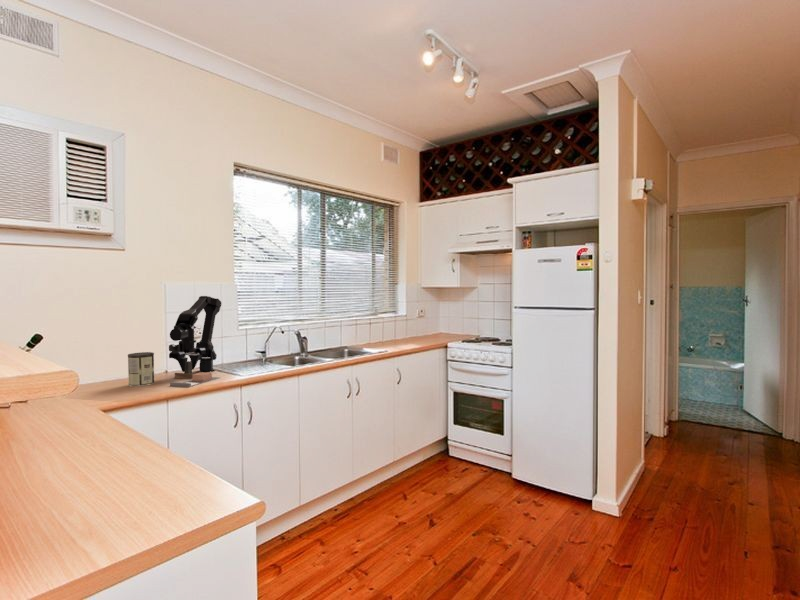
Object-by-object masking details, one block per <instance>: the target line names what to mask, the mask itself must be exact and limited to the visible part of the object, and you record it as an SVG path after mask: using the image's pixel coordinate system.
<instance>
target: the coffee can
mask: <svg viewBox="0 0 800 600" xmlns="http://www.w3.org/2000/svg"><path fill="white" fill-rule="evenodd" d="M154 355H155V352H151V351H145V352H144V351H143V352H133V353H128V354H127V362H128V363H127V365H128V366H127V369H128V370H127V372H128V373H127V374H128V387H129V386H130V388H134V387H143V386H149V385H153V384H155V358H154V357H155V356H154Z"/></svg>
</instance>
